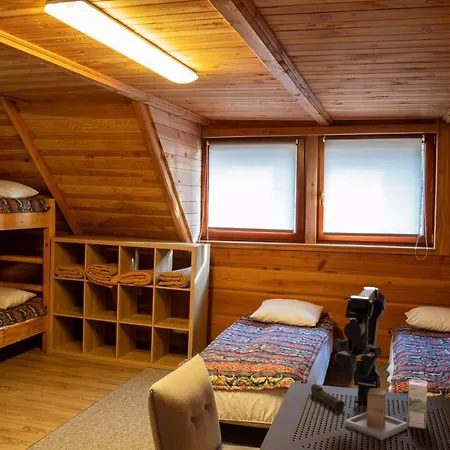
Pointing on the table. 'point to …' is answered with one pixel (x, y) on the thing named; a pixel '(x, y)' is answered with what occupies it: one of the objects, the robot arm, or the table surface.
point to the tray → (388, 430)
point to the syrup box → (417, 403)
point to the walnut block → (376, 408)
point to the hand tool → (327, 398)
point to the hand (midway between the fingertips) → (358, 378)
